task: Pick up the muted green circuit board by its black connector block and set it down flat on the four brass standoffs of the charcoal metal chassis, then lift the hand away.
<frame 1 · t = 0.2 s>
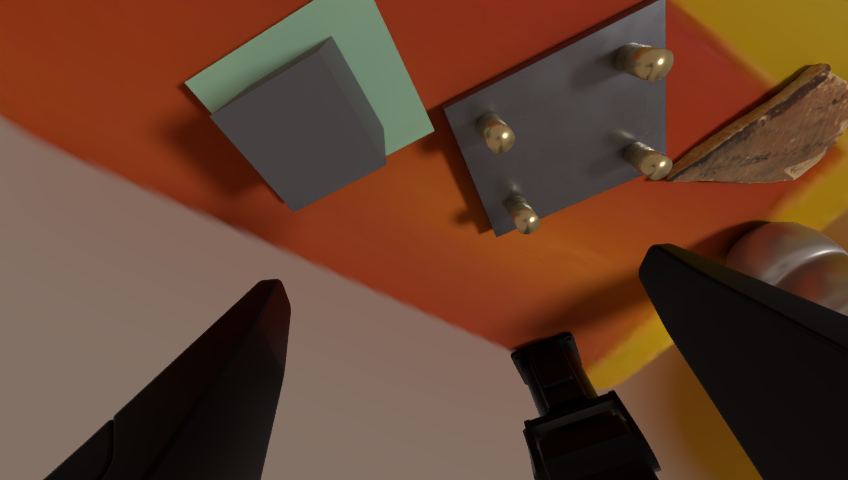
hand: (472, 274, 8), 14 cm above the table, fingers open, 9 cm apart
chassis: (558, 134, 21), on the table
plastic bottle: (749, 242, 30), on the table
shard: (748, 147, 24), on the table
circuit board: (322, 102, 19), on the table
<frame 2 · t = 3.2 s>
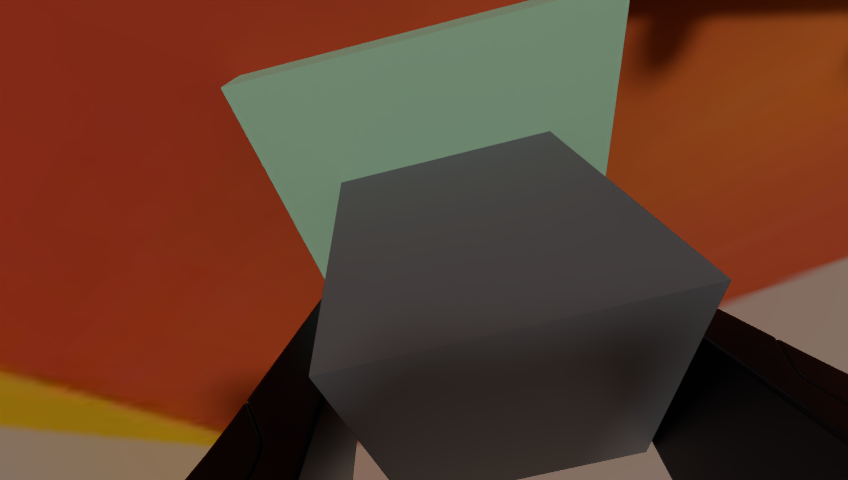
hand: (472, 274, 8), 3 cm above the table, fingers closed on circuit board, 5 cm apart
circuit board: (451, 216, 10), on the table, touching gripper
when the fingers open (7 cm above the table, at t = 9.0 s): circuit board stays where it is, resting on chassis.
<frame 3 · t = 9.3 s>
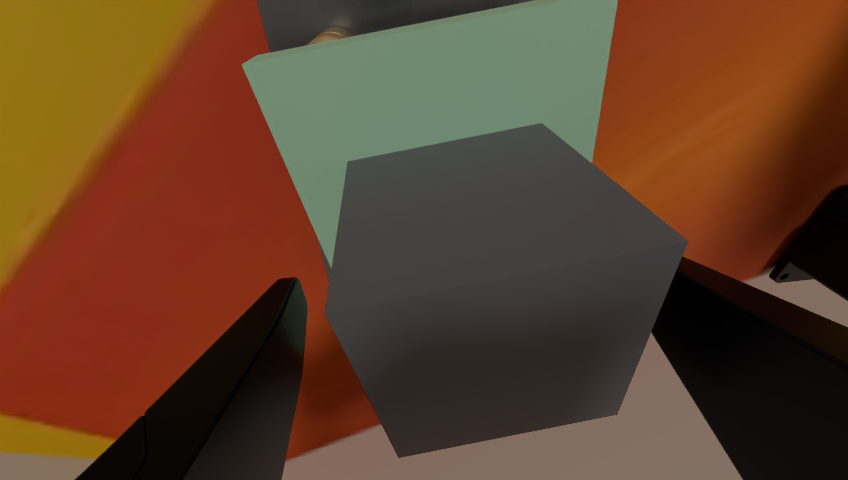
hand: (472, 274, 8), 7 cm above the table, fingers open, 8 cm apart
chassis: (432, 158, 14), on the table
circuit board: (447, 202, 11), point 3 cm above the table, touching chassis
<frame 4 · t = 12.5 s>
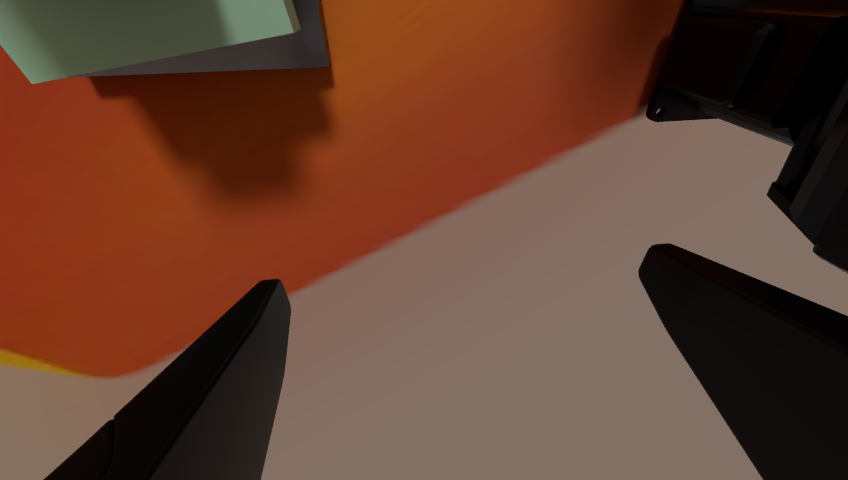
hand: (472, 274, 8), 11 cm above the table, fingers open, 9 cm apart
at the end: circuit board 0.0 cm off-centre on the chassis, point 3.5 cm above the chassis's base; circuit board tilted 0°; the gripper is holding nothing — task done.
